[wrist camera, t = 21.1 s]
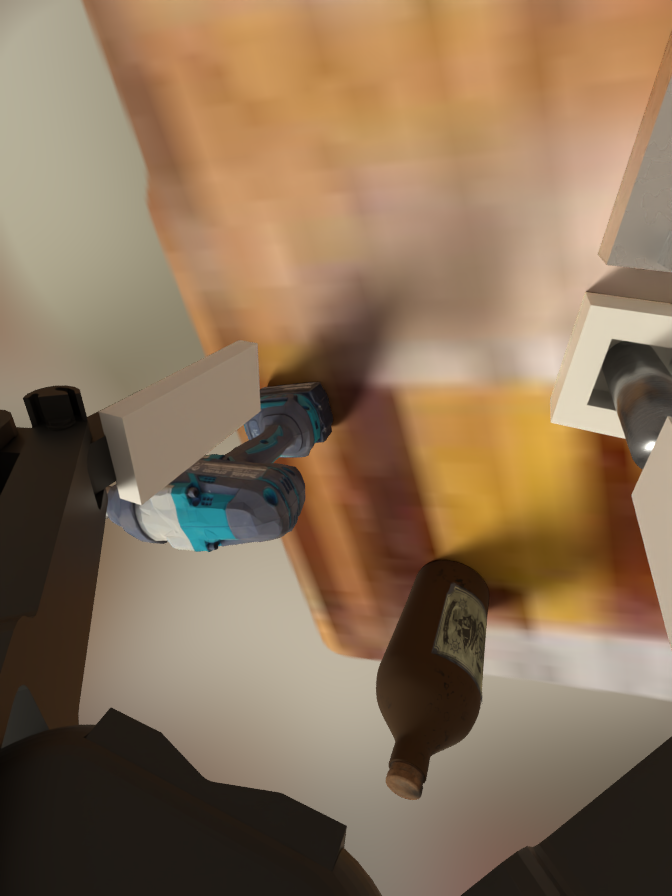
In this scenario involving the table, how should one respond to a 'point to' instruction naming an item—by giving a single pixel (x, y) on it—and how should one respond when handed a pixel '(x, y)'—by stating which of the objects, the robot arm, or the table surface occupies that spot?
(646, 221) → the grey post stand
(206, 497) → the impact wrench
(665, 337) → the cream square block
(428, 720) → the olive oil
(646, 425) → the smooth metal cylinder
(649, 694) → the table surface
